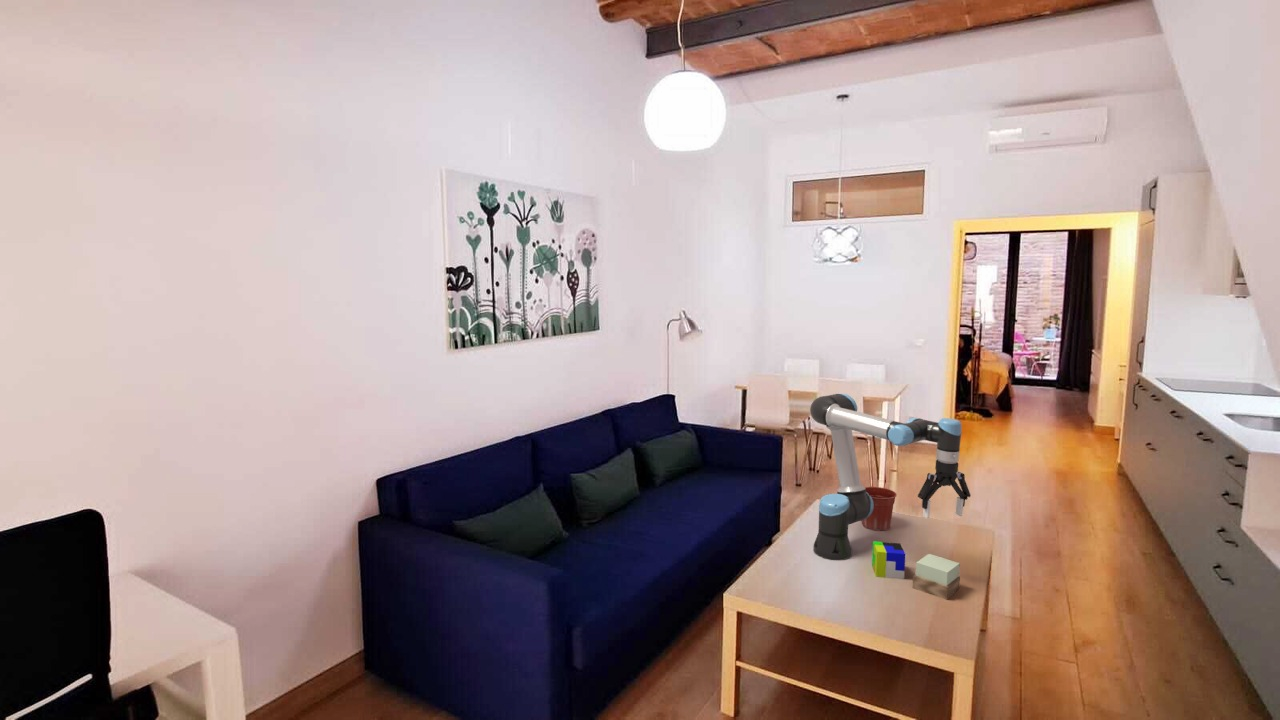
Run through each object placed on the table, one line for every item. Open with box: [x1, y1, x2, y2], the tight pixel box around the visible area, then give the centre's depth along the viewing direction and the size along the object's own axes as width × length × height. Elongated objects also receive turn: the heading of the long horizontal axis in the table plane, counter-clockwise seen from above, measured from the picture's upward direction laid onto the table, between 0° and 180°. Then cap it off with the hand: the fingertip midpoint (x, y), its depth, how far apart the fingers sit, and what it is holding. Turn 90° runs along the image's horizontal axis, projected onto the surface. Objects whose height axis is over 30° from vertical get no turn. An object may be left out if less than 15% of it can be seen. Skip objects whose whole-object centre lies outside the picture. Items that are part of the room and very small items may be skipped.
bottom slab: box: [912, 573, 961, 600], centre depth 230 cm, size 12×12×5 cm
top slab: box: [915, 553, 961, 586], centre depth 230 cm, size 11×11×5 cm
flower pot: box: [861, 486, 898, 532], centre depth 289 cm, size 16×16×16 cm
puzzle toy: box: [871, 540, 906, 580], centre depth 243 cm, size 10×10×10 cm
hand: (942, 515), depth 236 cm, fingers open, 13 cm apart
